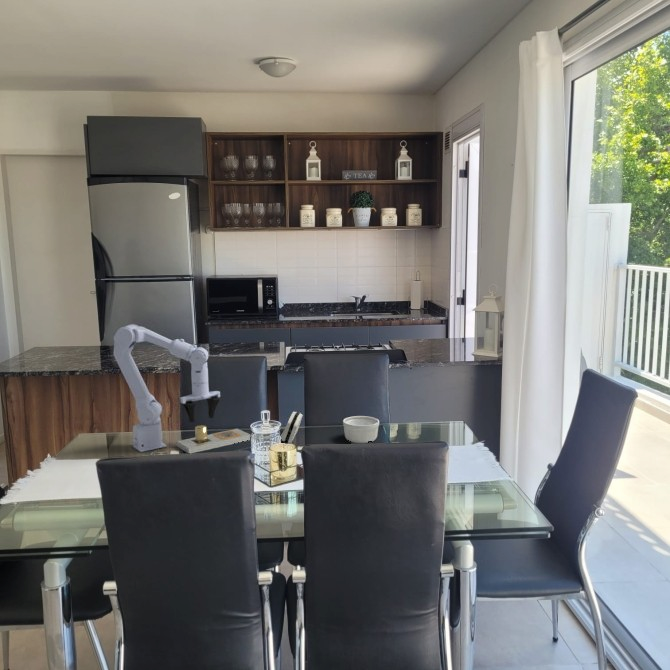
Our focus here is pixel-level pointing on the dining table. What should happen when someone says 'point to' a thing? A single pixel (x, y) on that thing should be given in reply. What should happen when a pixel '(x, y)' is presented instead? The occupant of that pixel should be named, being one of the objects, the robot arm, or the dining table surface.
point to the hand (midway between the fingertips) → (201, 419)
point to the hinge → (291, 427)
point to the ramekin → (361, 429)
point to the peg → (201, 434)
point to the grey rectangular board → (214, 441)
